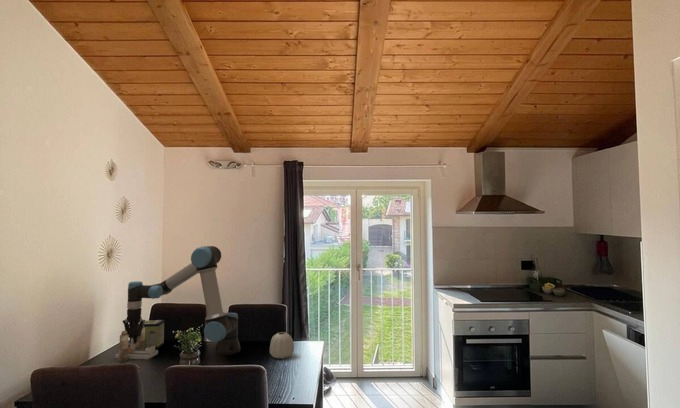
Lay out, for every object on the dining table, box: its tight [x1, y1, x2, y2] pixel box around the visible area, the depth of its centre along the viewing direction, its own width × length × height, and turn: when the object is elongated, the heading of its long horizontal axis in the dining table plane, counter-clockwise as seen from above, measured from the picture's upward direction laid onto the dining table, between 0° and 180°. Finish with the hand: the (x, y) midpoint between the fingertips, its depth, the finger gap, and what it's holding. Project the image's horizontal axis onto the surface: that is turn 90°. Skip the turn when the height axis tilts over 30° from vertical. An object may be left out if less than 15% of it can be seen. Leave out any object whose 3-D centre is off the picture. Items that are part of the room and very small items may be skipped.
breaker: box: [145, 345, 156, 353], centre depth 226 cm, size 3×5×4 cm, turn 175°
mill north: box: [118, 330, 130, 363], centre depth 219 cm, size 4×4×16 cm
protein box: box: [135, 319, 165, 350], centre depth 245 cm, size 10×16×16 cm
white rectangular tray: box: [114, 349, 159, 360], centre depth 226 cm, size 20×10×3 cm, turn 85°
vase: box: [269, 331, 295, 360], centre depth 224 cm, size 14×14×13 cm
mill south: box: [136, 325, 145, 350], centre depth 235 cm, size 4×4×16 cm
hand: (132, 348), depth 227 cm, fingers closed
